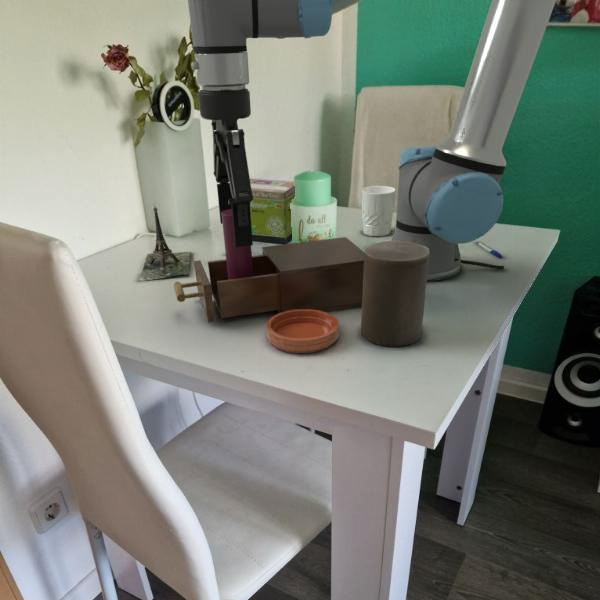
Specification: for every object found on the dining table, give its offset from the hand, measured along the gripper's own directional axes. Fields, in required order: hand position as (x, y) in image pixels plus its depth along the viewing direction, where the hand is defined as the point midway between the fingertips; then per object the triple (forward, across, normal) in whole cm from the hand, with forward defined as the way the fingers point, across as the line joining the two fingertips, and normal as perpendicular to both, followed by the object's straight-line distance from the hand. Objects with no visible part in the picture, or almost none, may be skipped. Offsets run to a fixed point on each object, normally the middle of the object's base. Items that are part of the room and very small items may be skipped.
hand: (235, 233), depth 93 cm
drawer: (+12, 0, -1) cm, 13 cm away
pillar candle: (+13, +18, +21) cm, 31 cm away
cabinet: (+13, 0, +14) cm, 19 cm away
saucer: (+13, +15, +7) cm, 21 cm away
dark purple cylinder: (+12, 0, 0) cm, 12 cm away
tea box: (+14, -29, +11) cm, 34 cm away
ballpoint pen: (+13, -12, +58) cm, 60 cm away
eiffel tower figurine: (+14, -27, -11) cm, 32 cm away
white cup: (+13, -33, +40) cm, 54 cm away
